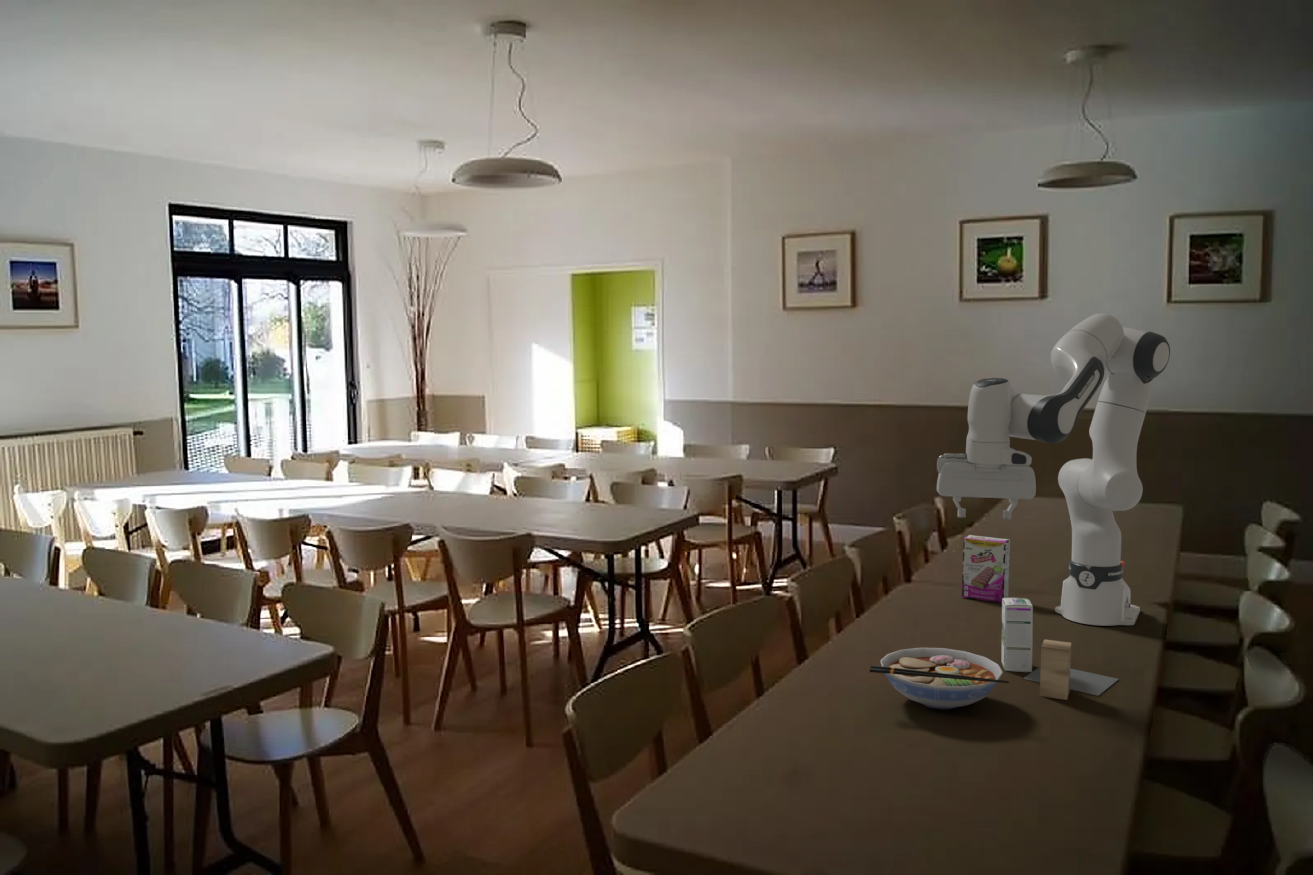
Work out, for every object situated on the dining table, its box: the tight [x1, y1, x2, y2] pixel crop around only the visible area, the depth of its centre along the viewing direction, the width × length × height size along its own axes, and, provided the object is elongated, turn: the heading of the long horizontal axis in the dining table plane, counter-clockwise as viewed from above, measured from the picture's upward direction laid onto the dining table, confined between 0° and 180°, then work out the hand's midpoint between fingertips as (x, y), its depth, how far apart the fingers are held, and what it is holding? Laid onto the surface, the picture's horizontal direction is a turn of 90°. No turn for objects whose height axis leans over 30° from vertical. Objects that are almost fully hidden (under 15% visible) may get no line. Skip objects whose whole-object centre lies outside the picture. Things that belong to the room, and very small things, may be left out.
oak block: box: [1039, 638, 1072, 701], centre depth 200 cm, size 5×5×10 cm
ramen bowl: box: [869, 647, 1010, 710], centre depth 197 cm, size 25×23×8 cm
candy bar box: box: [961, 534, 1011, 604], centre depth 269 cm, size 11×5×16 cm, turn 58°
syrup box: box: [1000, 597, 1034, 673], centre depth 216 cm, size 6×6×14 cm
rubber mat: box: [1022, 666, 1120, 697], centre depth 209 cm, size 12×15×1 cm
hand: (984, 518), depth 219 cm, fingers open, 8 cm apart
